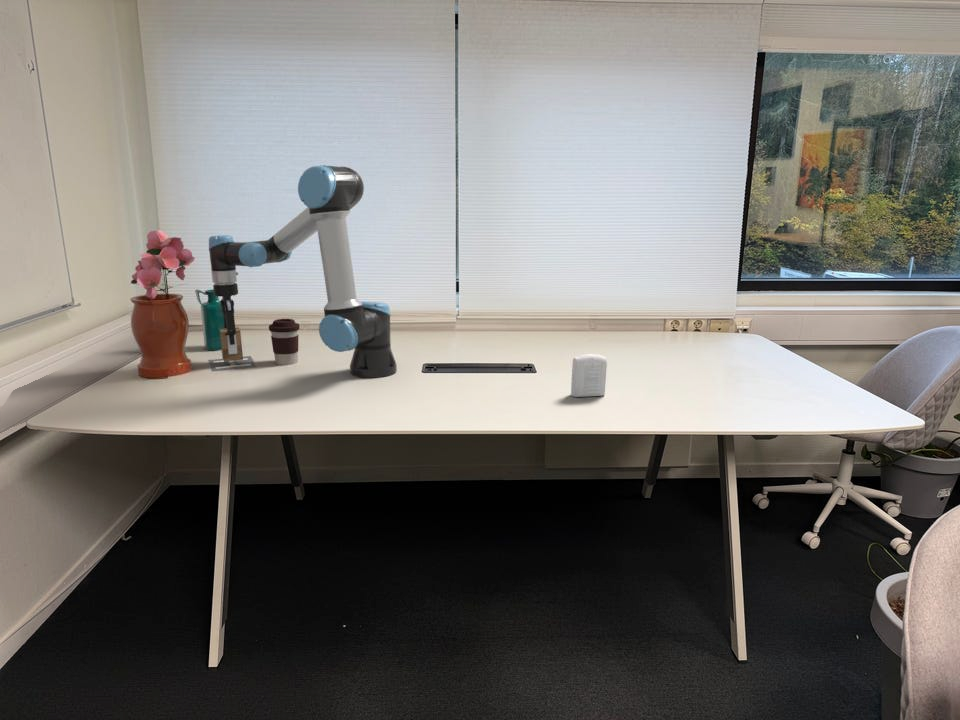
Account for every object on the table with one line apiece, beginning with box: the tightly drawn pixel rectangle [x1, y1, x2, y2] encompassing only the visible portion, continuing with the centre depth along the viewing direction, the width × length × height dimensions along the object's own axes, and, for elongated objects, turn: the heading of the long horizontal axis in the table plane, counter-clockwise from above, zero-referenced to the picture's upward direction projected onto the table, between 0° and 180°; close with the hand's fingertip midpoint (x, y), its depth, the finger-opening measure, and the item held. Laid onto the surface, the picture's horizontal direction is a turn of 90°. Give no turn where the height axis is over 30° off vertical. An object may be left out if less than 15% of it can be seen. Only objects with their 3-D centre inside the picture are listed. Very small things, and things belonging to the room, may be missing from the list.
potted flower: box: [130, 229, 195, 379], centre depth 211 cm, size 19×25×45 cm
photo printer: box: [570, 353, 608, 398], centre depth 194 cm, size 10×4×12 cm, turn 103°
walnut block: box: [220, 326, 244, 362], centre depth 223 cm, size 6×6×10 cm
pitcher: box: [194, 288, 224, 352], centre depth 244 cm, size 10×8×22 cm
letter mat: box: [208, 355, 257, 372], centre depth 225 cm, size 16×14×1 cm
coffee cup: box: [268, 318, 301, 366], centre depth 225 cm, size 10×10×15 cm
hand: (232, 351), depth 224 cm, fingers closed on walnut block, 6 cm apart
